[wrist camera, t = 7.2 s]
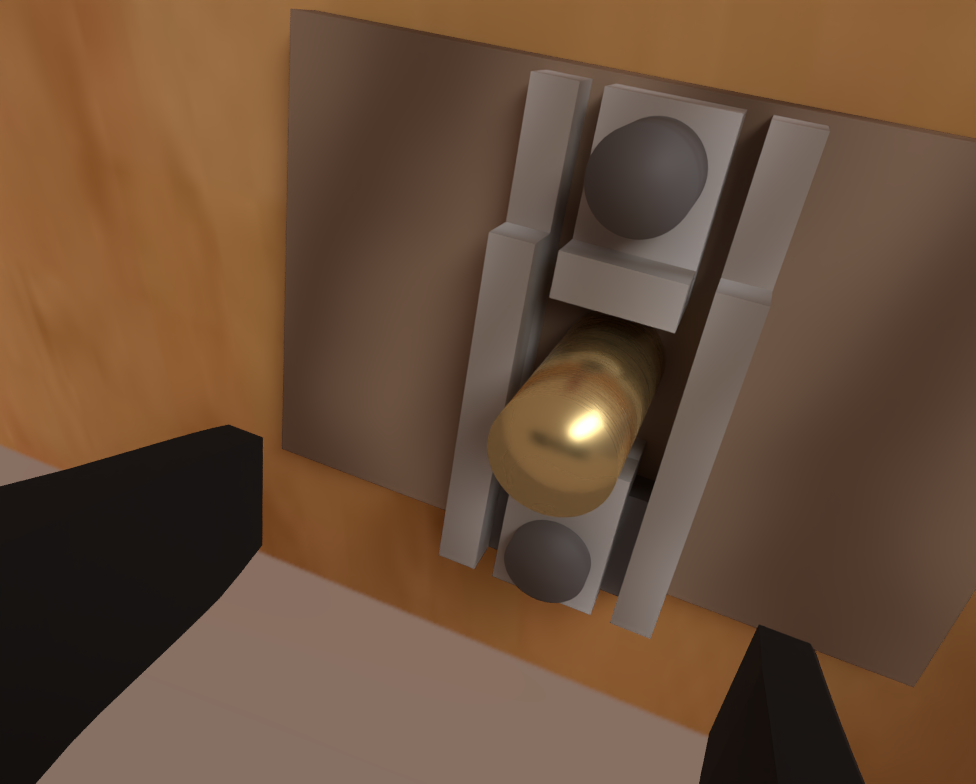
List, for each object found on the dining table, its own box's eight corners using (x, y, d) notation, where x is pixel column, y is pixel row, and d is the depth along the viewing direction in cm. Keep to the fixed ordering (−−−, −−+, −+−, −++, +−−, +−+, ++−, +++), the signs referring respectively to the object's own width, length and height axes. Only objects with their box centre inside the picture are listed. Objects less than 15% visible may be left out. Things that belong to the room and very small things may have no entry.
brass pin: (684, 381, 17) (643, 495, 13) (594, 417, 18) (529, 532, 14) (634, 290, 16) (574, 375, 12) (546, 333, 18) (463, 425, 13)
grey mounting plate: (1198, 182, 13) (1317, 223, 10) (909, 658, 19) (928, 773, 16) (315, 10, 17) (215, 3, 14) (301, 434, 23) (227, 490, 20)
